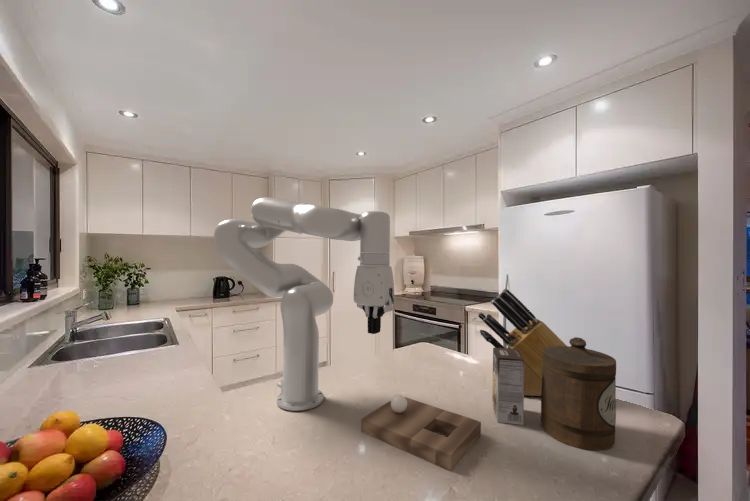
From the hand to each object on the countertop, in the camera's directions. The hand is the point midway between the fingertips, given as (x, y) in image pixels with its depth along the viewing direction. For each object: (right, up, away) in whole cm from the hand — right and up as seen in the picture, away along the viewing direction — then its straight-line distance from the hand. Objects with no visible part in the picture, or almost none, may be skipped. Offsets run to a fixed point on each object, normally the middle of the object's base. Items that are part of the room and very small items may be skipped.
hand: (374, 332), depth 84 cm
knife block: (+50, -22, +16) cm, 57 cm away
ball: (+6, -16, -5) cm, 18 cm away
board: (+11, -21, -9) cm, 25 cm away
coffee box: (+34, -22, +1) cm, 40 cm away
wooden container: (+47, -22, -7) cm, 52 cm away
